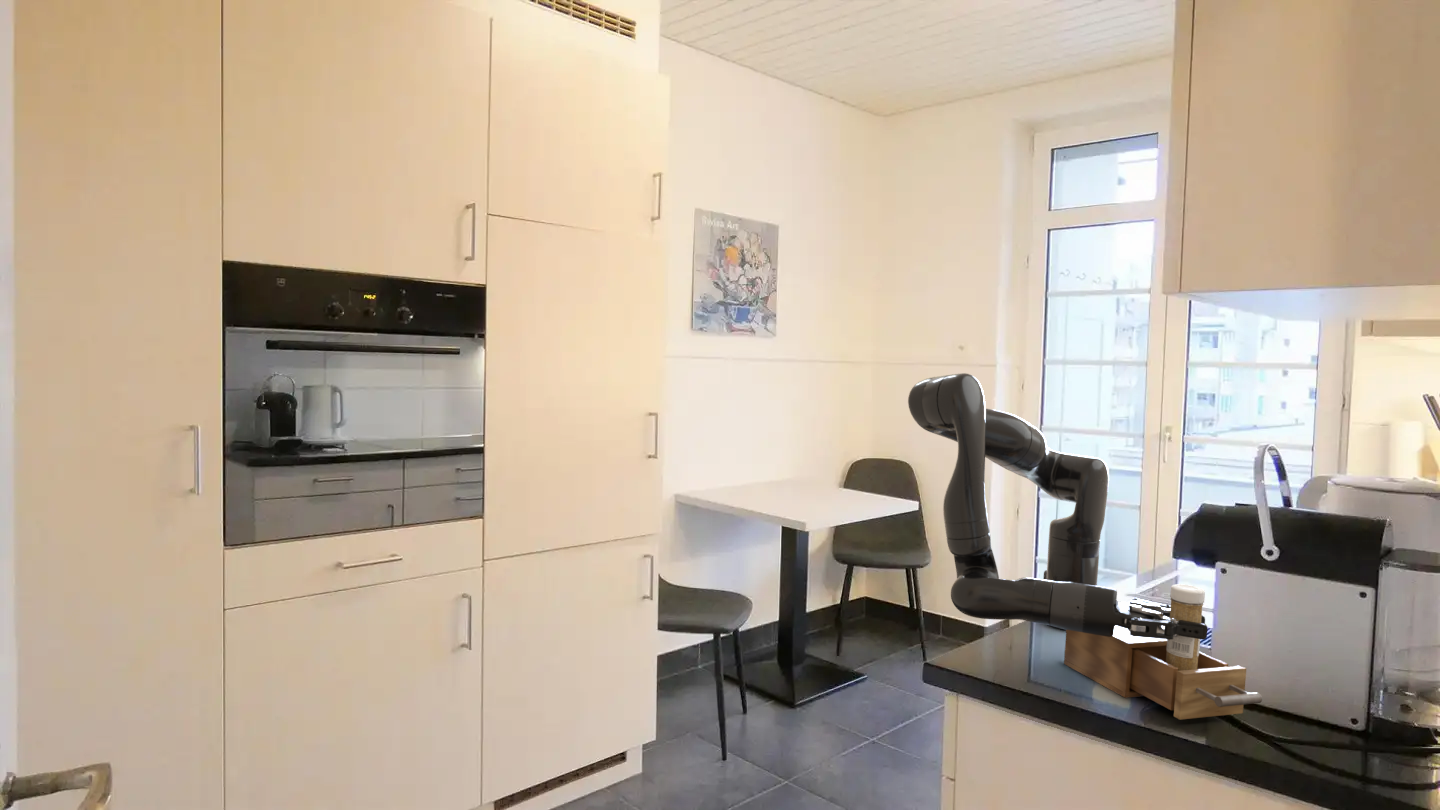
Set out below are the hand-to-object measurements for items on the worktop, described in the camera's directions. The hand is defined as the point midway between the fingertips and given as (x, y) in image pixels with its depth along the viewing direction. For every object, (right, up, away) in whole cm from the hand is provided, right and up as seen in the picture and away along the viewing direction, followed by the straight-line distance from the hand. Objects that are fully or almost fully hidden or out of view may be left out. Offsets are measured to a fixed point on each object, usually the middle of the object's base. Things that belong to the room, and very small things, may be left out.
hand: (1205, 627), depth 132 cm
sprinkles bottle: (-3, -8, +2) cm, 8 cm away
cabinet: (-6, -11, +13) cm, 18 cm away
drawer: (-2, -12, 0) cm, 12 cm away
